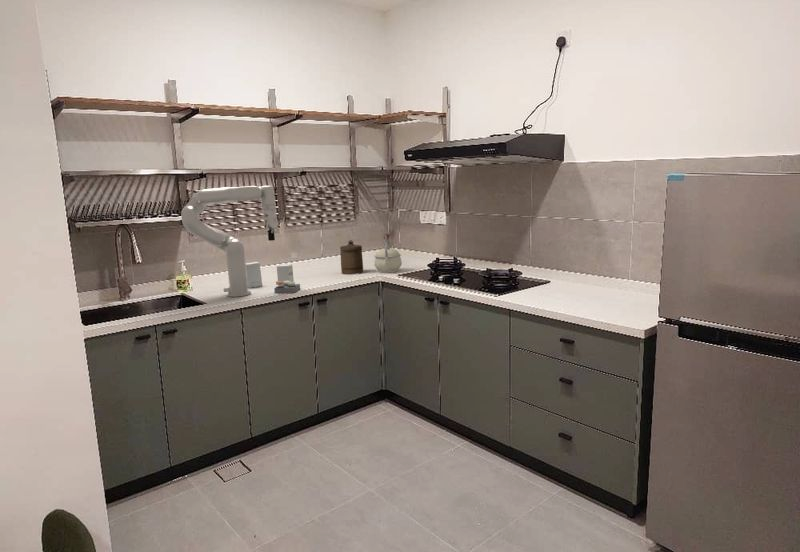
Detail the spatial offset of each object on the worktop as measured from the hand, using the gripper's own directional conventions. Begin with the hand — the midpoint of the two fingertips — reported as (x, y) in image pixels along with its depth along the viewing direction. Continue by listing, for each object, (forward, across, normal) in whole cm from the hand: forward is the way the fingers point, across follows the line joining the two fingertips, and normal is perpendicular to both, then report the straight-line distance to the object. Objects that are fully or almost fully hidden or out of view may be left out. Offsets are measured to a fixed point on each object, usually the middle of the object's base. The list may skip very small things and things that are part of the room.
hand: (271, 240), depth 298 cm
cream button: (+26, 0, -7) cm, 26 cm away
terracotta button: (+24, -7, -5) cm, 26 cm away
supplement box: (+29, +15, -1) cm, 33 cm away
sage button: (+25, -5, -11) cm, 28 cm away
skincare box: (+29, +15, +19) cm, 38 cm away
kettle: (+29, +57, -58) cm, 86 cm away
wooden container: (+29, +59, -33) cm, 74 cm away
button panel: (+29, -4, -8) cm, 30 cm away
